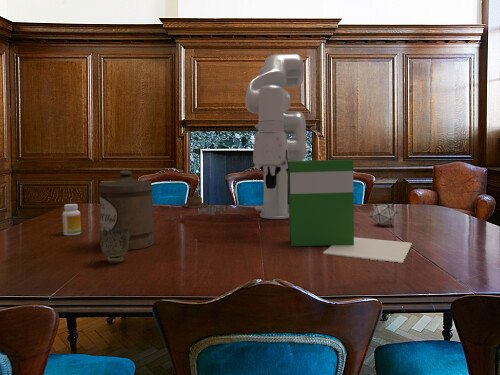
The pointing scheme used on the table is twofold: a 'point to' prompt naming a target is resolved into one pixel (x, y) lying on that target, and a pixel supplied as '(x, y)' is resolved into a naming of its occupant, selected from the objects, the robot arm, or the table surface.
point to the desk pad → (372, 250)
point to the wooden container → (128, 209)
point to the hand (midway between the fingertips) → (270, 188)
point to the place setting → (195, 202)
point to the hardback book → (321, 202)
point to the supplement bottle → (71, 220)
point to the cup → (114, 243)
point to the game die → (383, 214)
